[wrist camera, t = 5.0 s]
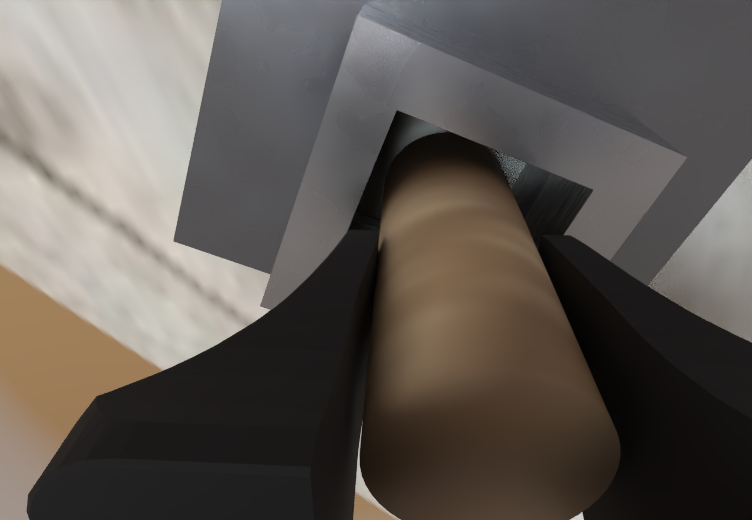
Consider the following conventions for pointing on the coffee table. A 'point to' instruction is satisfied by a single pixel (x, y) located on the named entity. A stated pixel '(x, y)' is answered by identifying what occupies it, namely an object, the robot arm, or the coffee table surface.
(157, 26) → the coffee table surface
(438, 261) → the pin
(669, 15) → the mount plate
